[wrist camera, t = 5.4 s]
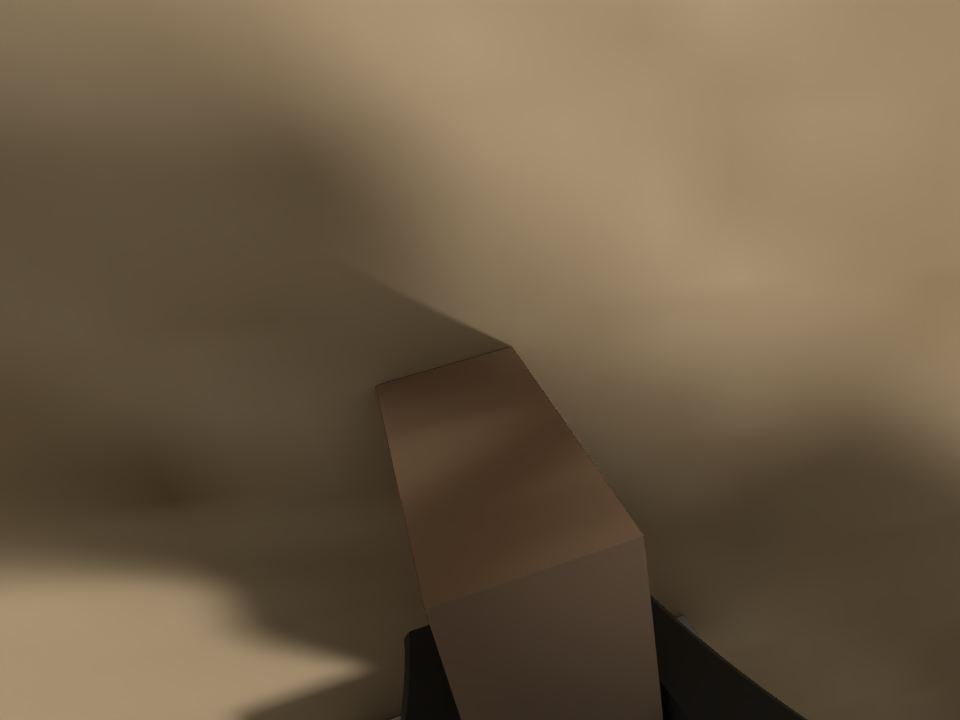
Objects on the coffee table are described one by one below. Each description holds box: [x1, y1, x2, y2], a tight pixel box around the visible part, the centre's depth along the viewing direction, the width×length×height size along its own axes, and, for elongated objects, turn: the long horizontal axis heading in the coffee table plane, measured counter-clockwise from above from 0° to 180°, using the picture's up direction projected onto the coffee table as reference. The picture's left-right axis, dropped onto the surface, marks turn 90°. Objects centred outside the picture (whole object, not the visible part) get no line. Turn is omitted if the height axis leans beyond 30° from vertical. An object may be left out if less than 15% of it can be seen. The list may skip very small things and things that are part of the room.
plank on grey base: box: [376, 347, 700, 720], centre depth 11 cm, size 8×9×5 cm
